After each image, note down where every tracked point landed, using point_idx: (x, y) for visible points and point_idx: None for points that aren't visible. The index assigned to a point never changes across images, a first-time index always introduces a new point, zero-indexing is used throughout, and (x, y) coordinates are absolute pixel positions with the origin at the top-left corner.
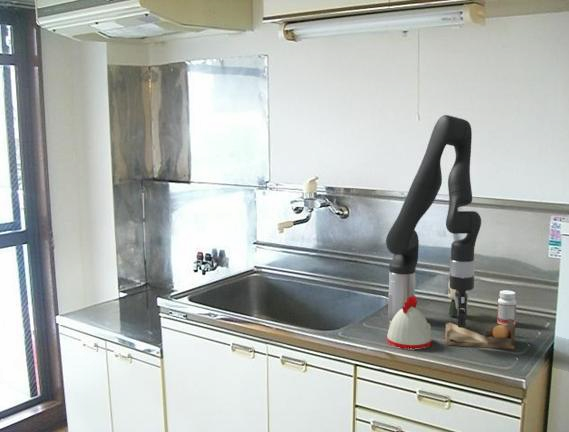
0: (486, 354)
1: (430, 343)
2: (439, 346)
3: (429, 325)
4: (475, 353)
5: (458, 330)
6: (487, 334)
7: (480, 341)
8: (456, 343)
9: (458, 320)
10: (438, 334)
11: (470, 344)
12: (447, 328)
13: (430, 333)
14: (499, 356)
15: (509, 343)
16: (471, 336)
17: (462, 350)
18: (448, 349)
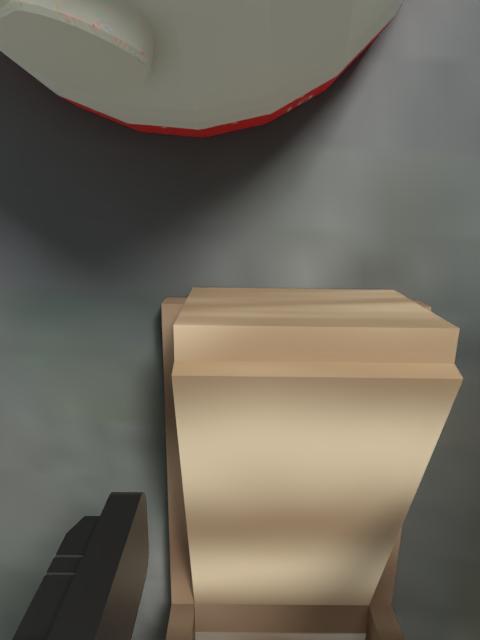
0: (22, 562)
1: (119, 122)
2: (117, 218)
3: (69, 39)
4: (20, 495)
5: (242, 453)
6: (372, 636)
7: (193, 572)
8: (164, 378)
9: (82, 569)
10: (473, 225)
11: (170, 485)
12: (247, 337)
13: (168, 104)
14: (8, 631)
15: None
16: (211, 535)
17: (62, 409)
18: (55, 296)
